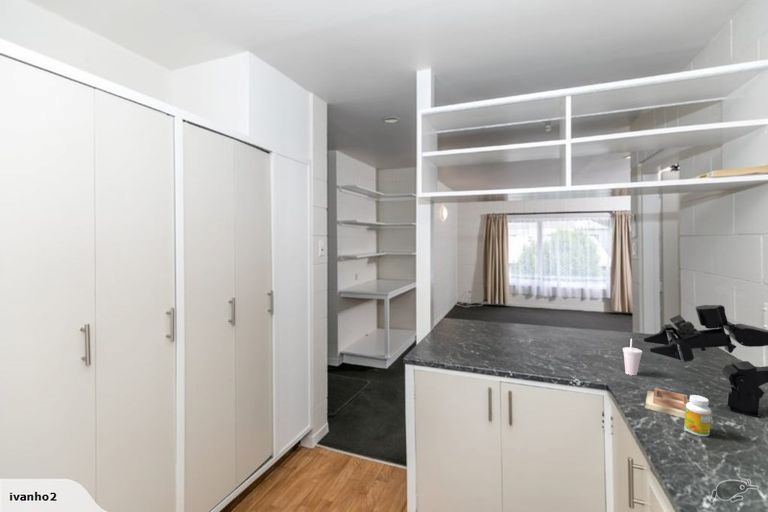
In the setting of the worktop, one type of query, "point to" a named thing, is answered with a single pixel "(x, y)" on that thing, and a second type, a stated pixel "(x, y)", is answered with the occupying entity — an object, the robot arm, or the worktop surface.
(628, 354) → the smoothie
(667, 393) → the birch stand
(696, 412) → the supplement bottle
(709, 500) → the worktop surface
